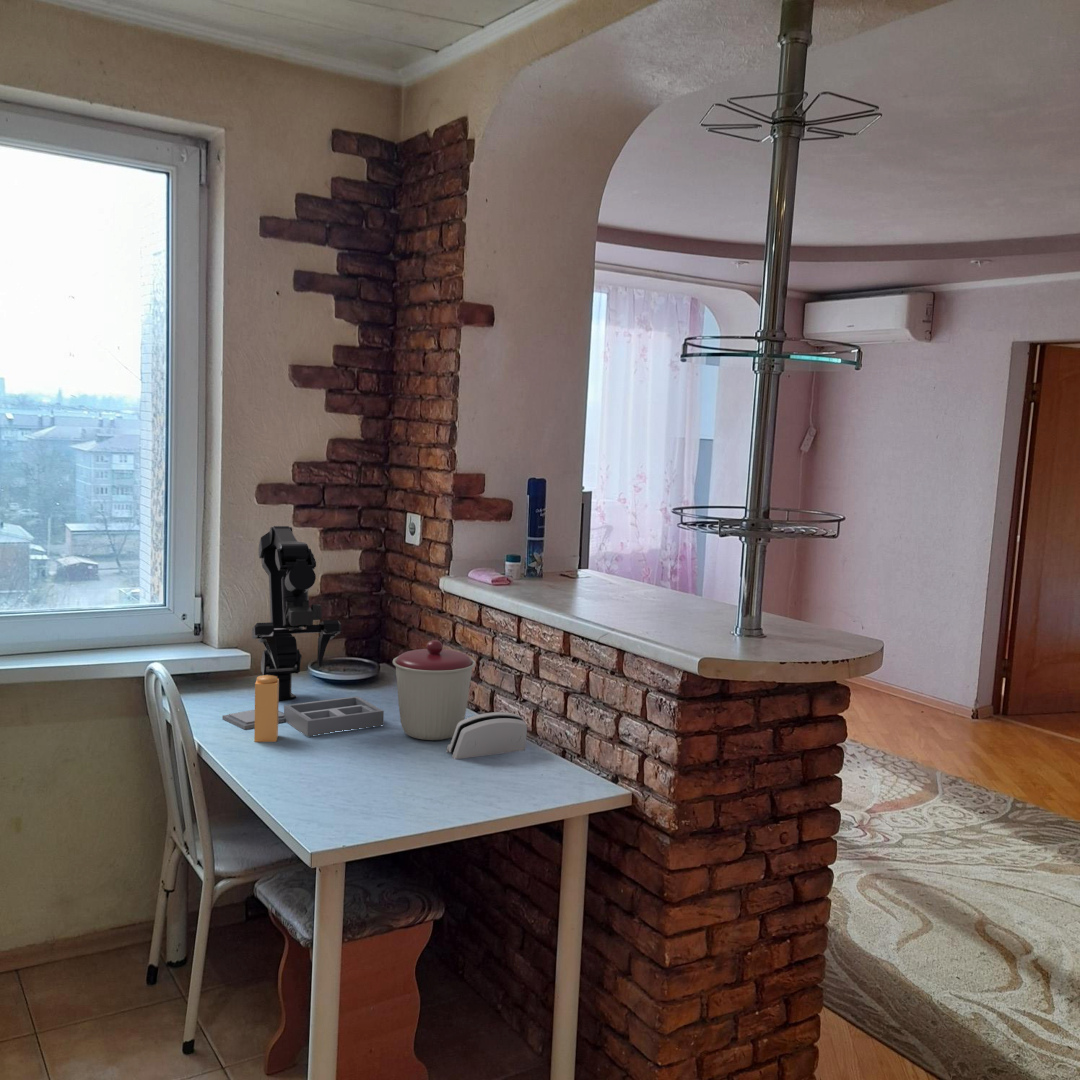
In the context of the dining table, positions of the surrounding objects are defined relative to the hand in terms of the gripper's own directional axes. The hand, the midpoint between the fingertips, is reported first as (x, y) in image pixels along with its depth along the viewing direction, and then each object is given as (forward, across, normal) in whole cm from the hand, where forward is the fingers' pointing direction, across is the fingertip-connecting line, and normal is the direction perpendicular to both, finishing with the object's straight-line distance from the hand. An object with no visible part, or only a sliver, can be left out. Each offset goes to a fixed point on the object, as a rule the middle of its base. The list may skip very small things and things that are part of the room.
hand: (298, 668), depth 227 cm
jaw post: (+15, -8, -1) cm, 17 cm away
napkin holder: (+23, +35, -21) cm, 47 cm away
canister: (+17, +27, -6) cm, 33 cm away
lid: (+10, -8, +12) cm, 18 cm away
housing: (+12, +8, +6) cm, 16 cm away
